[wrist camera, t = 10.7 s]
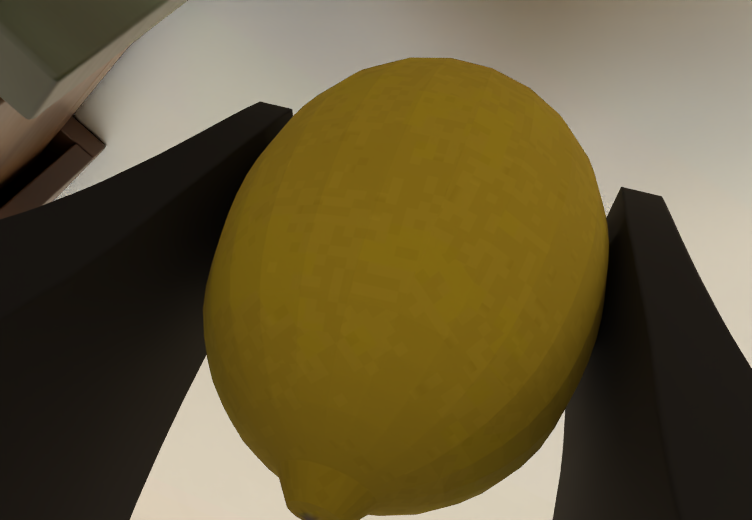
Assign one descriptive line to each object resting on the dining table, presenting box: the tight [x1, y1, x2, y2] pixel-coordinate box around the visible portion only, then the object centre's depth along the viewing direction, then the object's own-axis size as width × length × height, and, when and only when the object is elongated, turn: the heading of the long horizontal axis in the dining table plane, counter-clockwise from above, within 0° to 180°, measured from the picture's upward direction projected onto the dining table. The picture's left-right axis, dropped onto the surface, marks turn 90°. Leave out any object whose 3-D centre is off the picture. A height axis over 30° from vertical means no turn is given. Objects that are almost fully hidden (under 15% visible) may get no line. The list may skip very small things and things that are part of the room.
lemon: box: [203, 58, 609, 520], centre depth 9 cm, size 6×6×8 cm
